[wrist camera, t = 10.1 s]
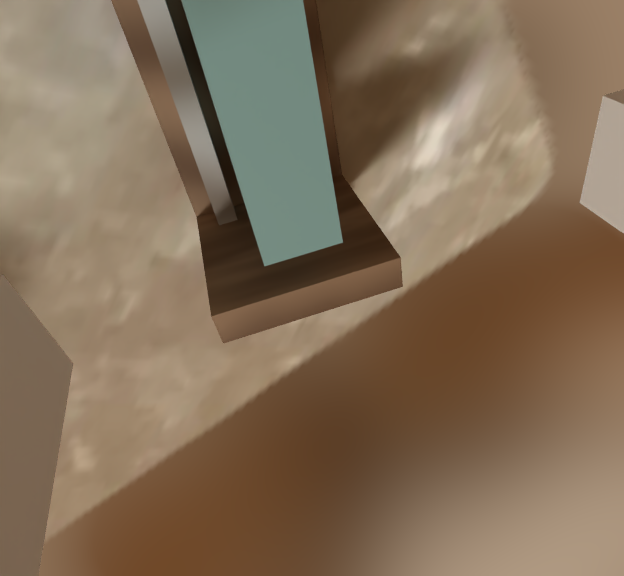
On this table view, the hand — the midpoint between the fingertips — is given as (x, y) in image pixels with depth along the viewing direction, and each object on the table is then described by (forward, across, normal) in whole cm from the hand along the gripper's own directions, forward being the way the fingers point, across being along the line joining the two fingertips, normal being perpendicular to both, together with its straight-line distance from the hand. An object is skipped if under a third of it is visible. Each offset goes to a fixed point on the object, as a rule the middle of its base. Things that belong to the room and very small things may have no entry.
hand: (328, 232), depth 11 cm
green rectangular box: (+20, 0, 0) cm, 20 cm away
